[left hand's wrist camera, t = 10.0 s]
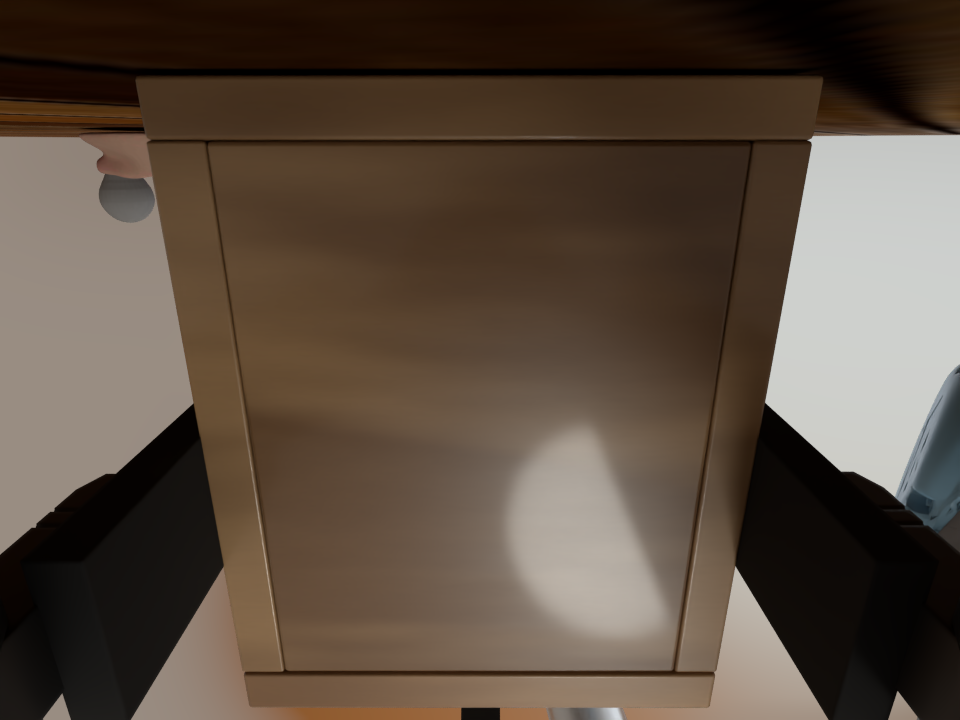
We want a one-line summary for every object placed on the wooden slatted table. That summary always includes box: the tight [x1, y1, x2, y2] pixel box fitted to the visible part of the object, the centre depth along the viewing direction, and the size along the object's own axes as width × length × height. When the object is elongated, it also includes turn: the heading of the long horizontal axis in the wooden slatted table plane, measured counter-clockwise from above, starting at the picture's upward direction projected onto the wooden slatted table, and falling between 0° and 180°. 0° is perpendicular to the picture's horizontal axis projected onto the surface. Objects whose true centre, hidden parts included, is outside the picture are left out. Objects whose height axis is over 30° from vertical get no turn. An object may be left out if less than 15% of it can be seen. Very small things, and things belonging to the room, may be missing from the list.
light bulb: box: [99, 174, 155, 222], centre depth 73 cm, size 6×6×10 cm
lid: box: [244, 669, 715, 708], centre depth 21 cm, size 16×10×8 cm, turn 0°
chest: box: [135, 75, 823, 672], centre depth 18 cm, size 16×10×11 cm, turn 0°
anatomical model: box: [79, 132, 152, 179], centre depth 43 cm, size 13×4×12 cm
